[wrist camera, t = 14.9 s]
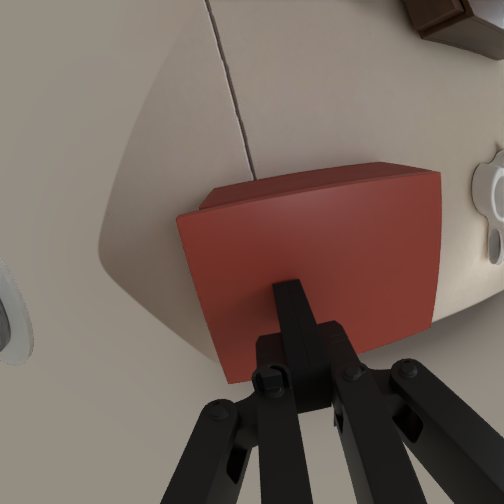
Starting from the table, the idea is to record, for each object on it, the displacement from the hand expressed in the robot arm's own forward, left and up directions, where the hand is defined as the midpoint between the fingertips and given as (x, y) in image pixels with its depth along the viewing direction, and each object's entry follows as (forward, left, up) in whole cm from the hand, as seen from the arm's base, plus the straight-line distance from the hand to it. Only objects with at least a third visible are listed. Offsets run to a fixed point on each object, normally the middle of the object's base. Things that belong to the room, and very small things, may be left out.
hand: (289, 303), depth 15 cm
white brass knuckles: (+30, +9, -10) cm, 33 cm away
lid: (+3, +1, -1) cm, 3 cm away
